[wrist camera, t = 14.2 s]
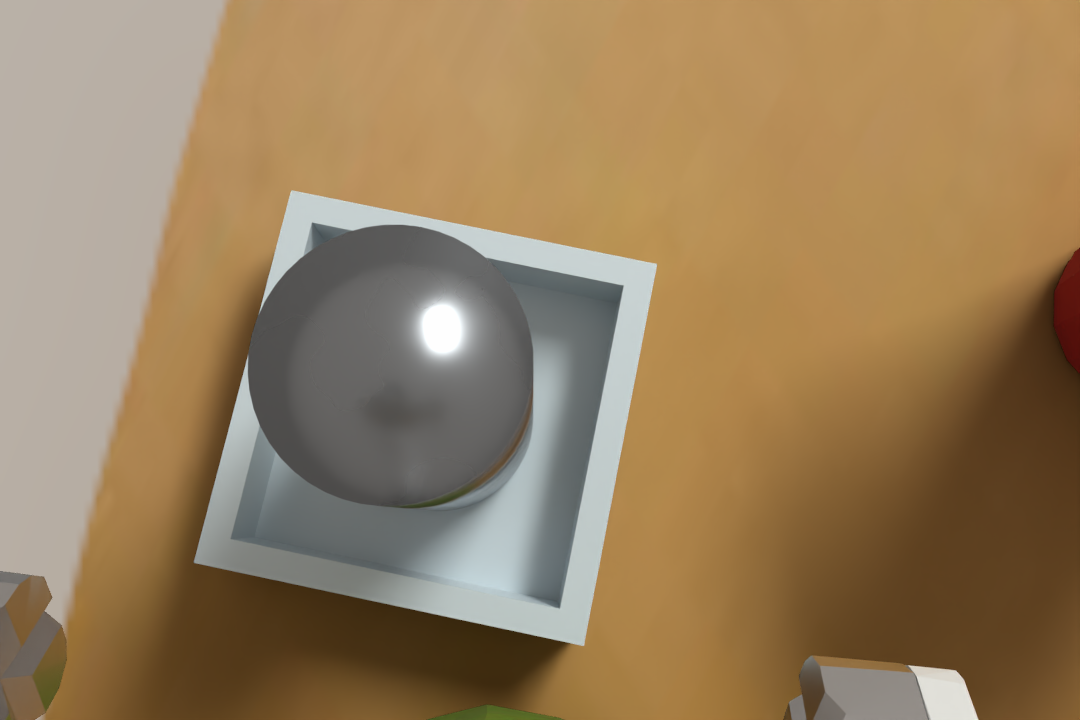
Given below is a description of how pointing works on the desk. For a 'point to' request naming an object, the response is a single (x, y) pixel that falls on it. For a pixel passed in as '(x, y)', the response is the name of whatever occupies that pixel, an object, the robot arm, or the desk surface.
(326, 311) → the tin
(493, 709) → the apple
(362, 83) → the desk surface
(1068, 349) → the plastic cup
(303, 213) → the tray
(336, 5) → the desk surface
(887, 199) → the desk surface
